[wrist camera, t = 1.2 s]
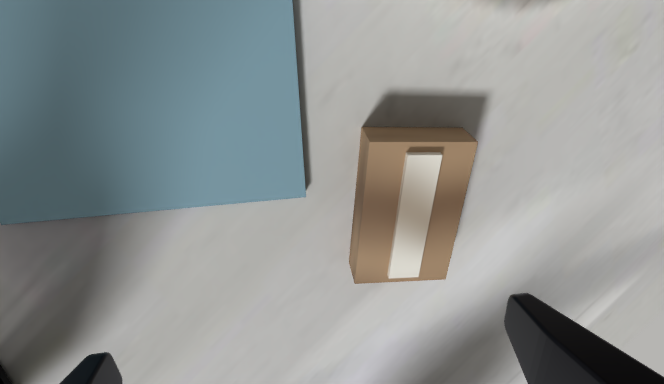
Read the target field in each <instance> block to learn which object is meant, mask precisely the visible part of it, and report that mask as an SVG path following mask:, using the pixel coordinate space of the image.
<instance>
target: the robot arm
mask: <svg viewBox="0 0 664 384" xmlns="http://www.w3.org/2000/svg"><path fill="white" fill-rule="evenodd" d="M504 324H505V329H506V332H507V334H508V336H509V339H510V341H511V344H512V346H513V349H514V351H515V353H516V356H517V358H518V361H519V363H520V366H521V368H522V370H523V373H524V375H525V378H526V380H527V382H528V384H664V377H663V376H661V375H660V374H658V373H657V372H655V371H653V370H652V369H650V368H648V367H647V366H645V365H644V364H642V363H640V362H639V361H637V360H636V359H634V358H632V357H631V356H629V355H627V354H626V353H624V352H623V351H621V350H619V349H618V348H616V347H615V346H613V345H611V344H610V343H608V342H607V341H605V340H603V339H602V338H600V337H599V336H597V335H595V334H594V333H592V332H590V331H589V330H587V329H586V328H584V327H582V326H581V325H579V324H578V323H576V322H574V321H573V320H571V319H570V318H568V317H566V316H565V315H563V314H562V313H560V312H558V311H557V310H555V309H553V308H552V307H550V306H549V305H547V304H545V303H544V302H542V301H541V300H539V299H537V298H536V297H534V296H533V295H531V294H528V293H520V294H513V295H511V296H510V297H509V299H508V303H507V308H506V313H505V319H504ZM0 384H12V383H11V382H10V380H9V378H8V377H7V375H6V374H5V372H4V370H3V369H2V367H1V365H0ZM60 384H122V376H121V374H120V372H119V370H118V368H117V366H116V363H115V361H114V359H113V357H112V355H111V354H110V353H108V352H104V353H97V354H91V355H89V356H87V357H86V358H85V359H84V360H83V361H82V362H81V363H80V364H79V365H78V366H77V367H76V368H75V369H74V370H73V371H72V372H71V373H70V374H69V375H68V376H67V377H66V378H65V379H64V380H63V381H62V382H61V383H60Z"/></svg>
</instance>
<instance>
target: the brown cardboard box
mask: <svg viewBox="0 0 664 384" xmlns="http://www.w3.org/2000/svg"><path fill="white" fill-rule="evenodd" d="M477 144H478V141H476V140H475V139H474V138H473V137H472V136H471V135H470V134H469V133H468V132H467V131H465V130H464V129H463V128H446V127H362V128H361V139H360V150H359V160H358V171H357V182H356V192H355V203H354V214H353V224H352V235H351V246H350V256H349V264H350V268H351V271H352V275H353V279H354V283H355V284H359V283H379V282H400V281H420V280H441V279H446V275H447V271H448V267H449V262H450V258H451V254H452V250H453V246H454V241H455V237H456V233H457V229H458V224H459V220H460V216H461V212H462V208H463V203H464V199H465V195H466V191H467V186H468V182H469V178H470V174H471V170H472V165H473V161H474V157H475V153H476V149H477Z"/></svg>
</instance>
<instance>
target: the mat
mask: <svg viewBox="0 0 664 384" xmlns="http://www.w3.org/2000/svg"><path fill="white" fill-rule="evenodd" d="M301 197H306V189H305V175H304V161H303V146H302V132H301V118H300V103H299V89H298V74H297V60H296V46H295V31H294V17H293V3H292V0H0V223H1V225H6V224H17V223H27V222H38V221H49V220H60V219H71V218H82V217H93V216H104V215H115V214H126V213H137V212H148V211H159V210H170V209H180V208H191V207H202V206H213V205H224V204H235V203H246V202H257V201H268V200H279V199H290V198H301Z"/></svg>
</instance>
